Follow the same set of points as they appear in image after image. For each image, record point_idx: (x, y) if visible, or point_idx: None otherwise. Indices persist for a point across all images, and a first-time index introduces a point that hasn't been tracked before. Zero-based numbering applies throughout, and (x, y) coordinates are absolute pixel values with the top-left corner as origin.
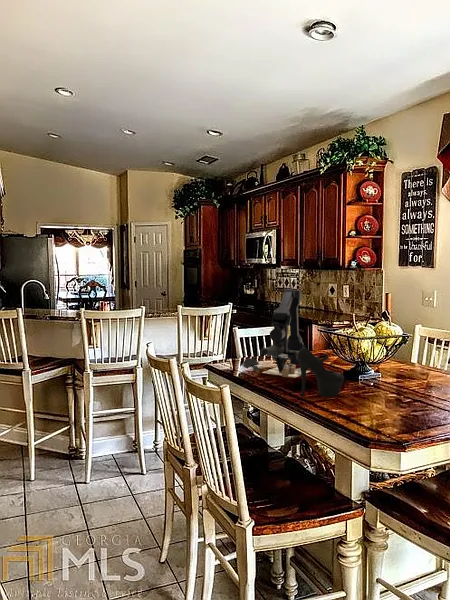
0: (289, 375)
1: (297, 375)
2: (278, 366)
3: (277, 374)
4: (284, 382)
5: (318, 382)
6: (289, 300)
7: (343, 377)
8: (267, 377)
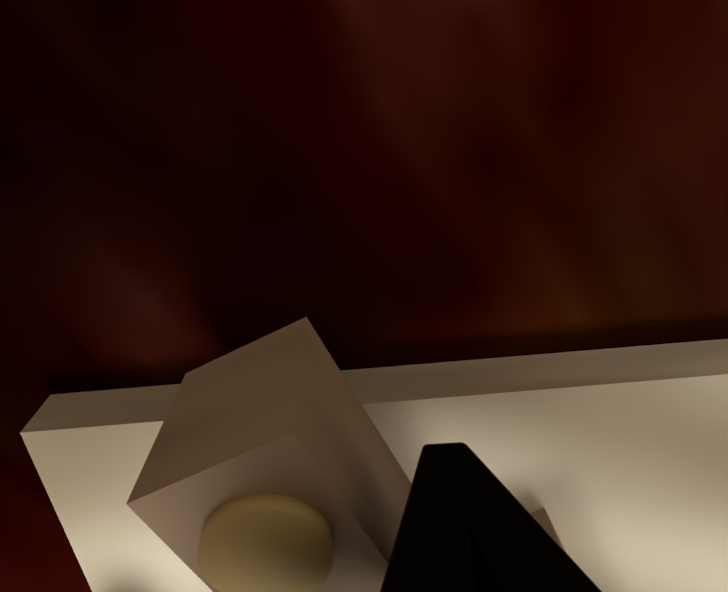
0: None
1: (135, 575)
2: (524, 562)
3: (525, 418)
4: (44, 56)
5: None
6: None
7: None
8: (696, 224)
